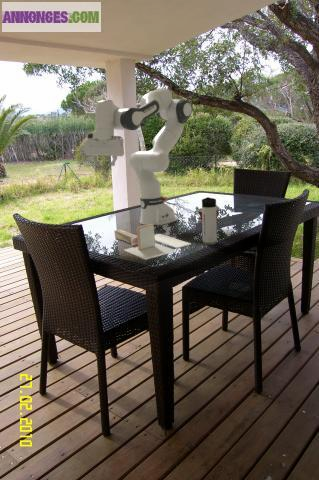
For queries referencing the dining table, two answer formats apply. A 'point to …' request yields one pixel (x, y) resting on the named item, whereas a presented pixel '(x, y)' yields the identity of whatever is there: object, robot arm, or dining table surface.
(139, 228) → the tile
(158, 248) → the mat
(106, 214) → the dining table surface
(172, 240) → the board
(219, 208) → the plastic cup
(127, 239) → the beige rectangular bar
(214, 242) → the travel mug
